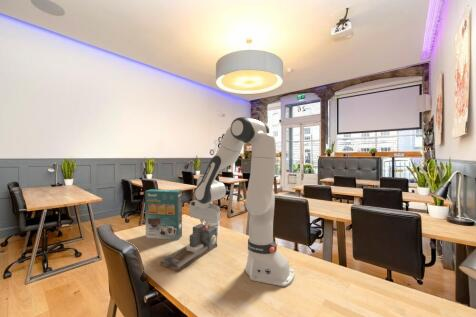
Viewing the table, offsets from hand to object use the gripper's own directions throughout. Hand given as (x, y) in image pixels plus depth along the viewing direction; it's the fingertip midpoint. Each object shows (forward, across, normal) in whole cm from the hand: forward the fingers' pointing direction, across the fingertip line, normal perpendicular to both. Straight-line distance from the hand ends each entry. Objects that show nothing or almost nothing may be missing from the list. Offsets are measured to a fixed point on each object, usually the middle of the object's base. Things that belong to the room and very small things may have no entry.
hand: (204, 226), depth 126 cm
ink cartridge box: (+12, +8, -18) cm, 23 cm away
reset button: (+2, 0, 0) cm, 2 cm away
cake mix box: (+12, +32, +2) cm, 34 cm away
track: (+12, 0, +12) cm, 16 cm away
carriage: (+10, 0, +9) cm, 13 cm away
